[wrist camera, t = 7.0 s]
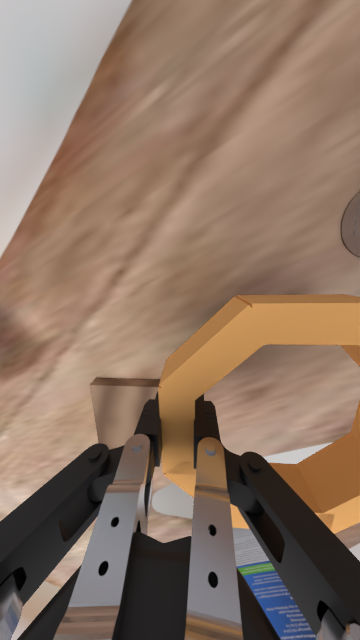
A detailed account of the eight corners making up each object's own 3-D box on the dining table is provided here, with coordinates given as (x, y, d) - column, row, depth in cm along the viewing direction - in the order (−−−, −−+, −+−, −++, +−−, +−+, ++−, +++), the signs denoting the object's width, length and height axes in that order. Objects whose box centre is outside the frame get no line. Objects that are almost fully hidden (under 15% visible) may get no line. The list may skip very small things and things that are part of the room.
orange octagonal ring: (427, 293, 10) (518, 302, 7) (362, 487, 14) (405, 541, 11) (163, 295, 11) (153, 304, 9) (170, 475, 15) (165, 521, 13)
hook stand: (199, 381, 30) (204, 432, 21) (197, 454, 34) (200, 525, 25) (96, 377, 31) (53, 425, 22) (106, 449, 35) (74, 516, 26)
